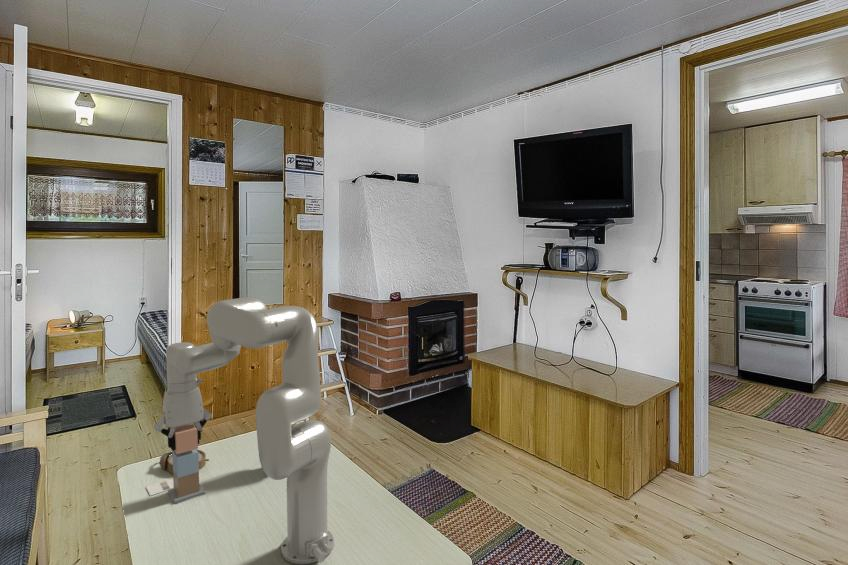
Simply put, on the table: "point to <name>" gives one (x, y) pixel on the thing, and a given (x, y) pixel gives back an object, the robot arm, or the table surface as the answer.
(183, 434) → the terracotta block
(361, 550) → the table surface
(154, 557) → the table surface
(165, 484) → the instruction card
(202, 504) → the table surface
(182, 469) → the blue block
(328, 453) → the robot arm
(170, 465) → the alarm clock
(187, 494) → the base
